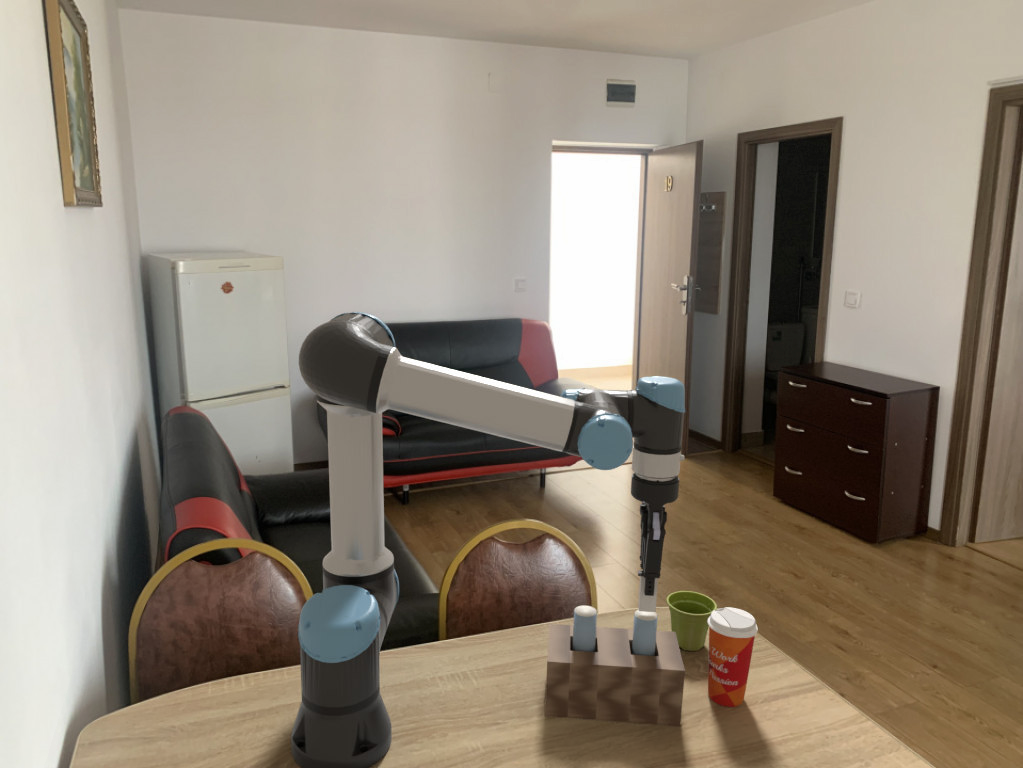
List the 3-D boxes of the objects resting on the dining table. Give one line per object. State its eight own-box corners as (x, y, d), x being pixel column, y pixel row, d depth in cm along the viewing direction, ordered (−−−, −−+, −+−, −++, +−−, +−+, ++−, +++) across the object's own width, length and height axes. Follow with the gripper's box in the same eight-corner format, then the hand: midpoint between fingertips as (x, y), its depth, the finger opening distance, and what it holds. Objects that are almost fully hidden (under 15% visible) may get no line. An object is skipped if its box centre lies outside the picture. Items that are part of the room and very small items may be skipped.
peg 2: (631, 674, 129) (635, 619, 127) (630, 662, 133) (633, 608, 131) (654, 676, 129) (658, 621, 127) (652, 663, 133) (656, 609, 130)
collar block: (544, 716, 127) (547, 661, 125) (547, 674, 139) (549, 623, 137) (680, 726, 126) (684, 670, 124) (671, 683, 138) (675, 631, 135)
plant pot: (704, 630, 156) (707, 590, 154) (719, 656, 147) (723, 614, 145) (658, 630, 155) (661, 590, 153) (670, 656, 146) (674, 614, 144)
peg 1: (571, 670, 130) (574, 615, 128) (571, 658, 134) (574, 604, 131) (594, 672, 130) (597, 617, 127) (593, 659, 133) (596, 606, 131)
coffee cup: (691, 689, 136) (697, 611, 133) (727, 678, 139) (734, 601, 136) (724, 717, 128) (732, 634, 125) (761, 704, 132) (770, 623, 129)
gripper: (685, 488, 117) (674, 631, 122) (674, 462, 130) (665, 592, 135) (635, 486, 118) (626, 628, 122) (629, 460, 130) (621, 589, 135)
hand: (646, 609), depth 129 cm, fingers closed
